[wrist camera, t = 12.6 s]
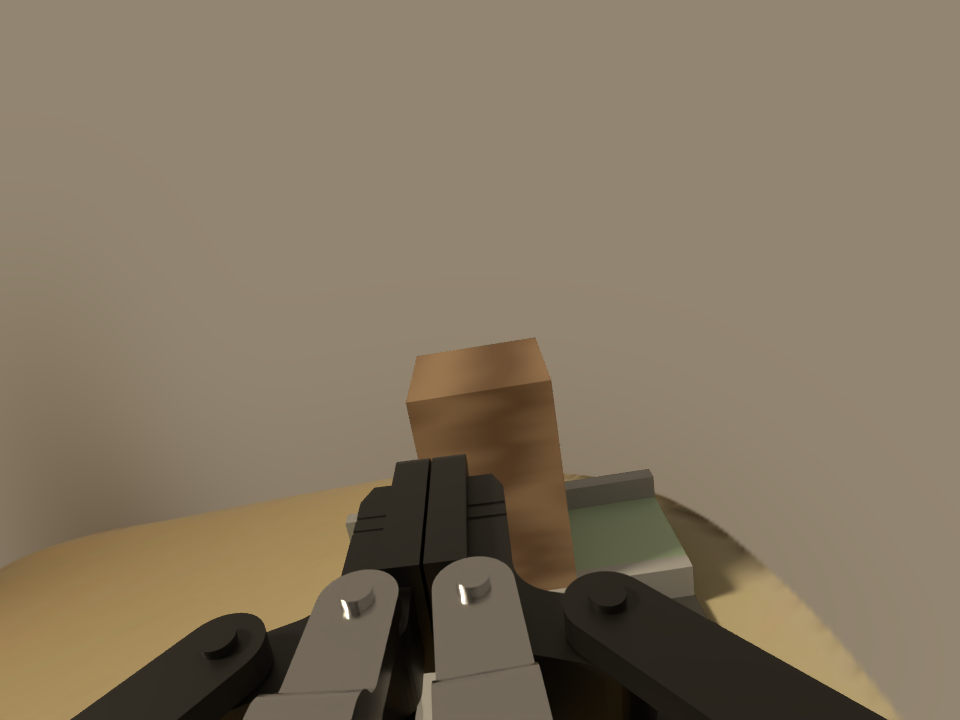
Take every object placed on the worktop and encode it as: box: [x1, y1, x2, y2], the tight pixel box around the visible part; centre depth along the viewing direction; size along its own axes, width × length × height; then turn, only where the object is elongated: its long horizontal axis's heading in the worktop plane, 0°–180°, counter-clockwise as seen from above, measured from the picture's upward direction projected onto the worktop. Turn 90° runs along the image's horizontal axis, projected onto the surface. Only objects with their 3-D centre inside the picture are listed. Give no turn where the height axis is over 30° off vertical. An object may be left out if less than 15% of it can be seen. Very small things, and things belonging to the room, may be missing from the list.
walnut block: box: [406, 338, 577, 591], centre depth 34 cm, size 7×7×12 cm
